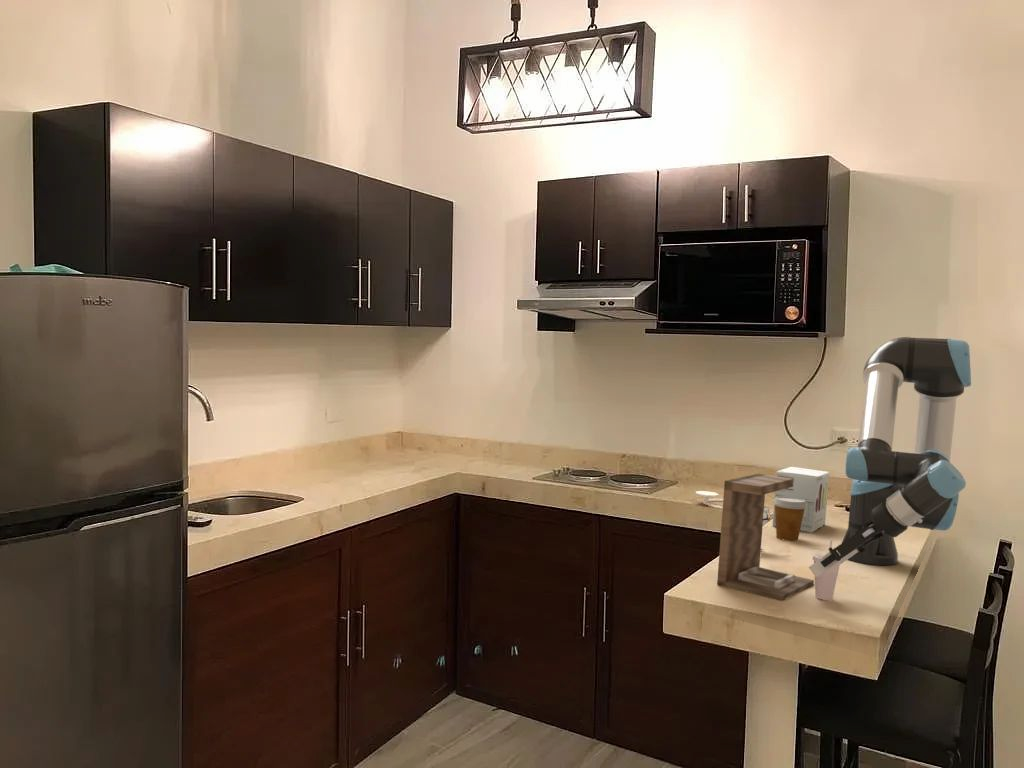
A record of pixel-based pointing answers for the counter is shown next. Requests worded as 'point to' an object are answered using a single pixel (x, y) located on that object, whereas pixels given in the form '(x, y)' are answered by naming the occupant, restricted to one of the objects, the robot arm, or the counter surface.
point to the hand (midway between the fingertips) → (823, 567)
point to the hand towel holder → (707, 500)
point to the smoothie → (826, 579)
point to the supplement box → (807, 494)
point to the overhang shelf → (751, 539)
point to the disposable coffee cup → (788, 517)
